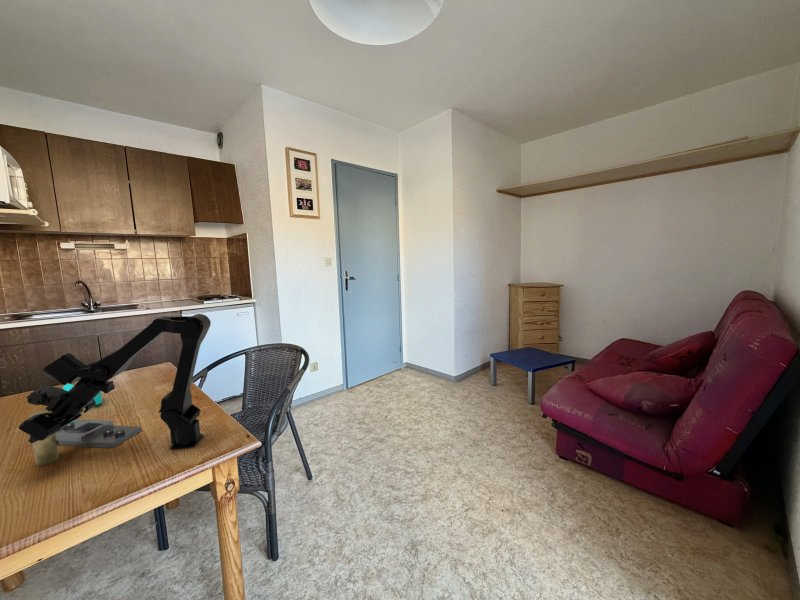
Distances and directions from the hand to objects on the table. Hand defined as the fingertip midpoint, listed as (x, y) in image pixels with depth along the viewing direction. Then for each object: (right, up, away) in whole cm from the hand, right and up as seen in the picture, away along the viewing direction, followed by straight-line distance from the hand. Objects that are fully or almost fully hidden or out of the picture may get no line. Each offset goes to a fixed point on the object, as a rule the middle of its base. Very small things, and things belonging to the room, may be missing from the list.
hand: (37, 437), depth 86 cm
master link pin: (+1, -7, +1) cm, 7 cm away
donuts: (-21, -4, +34) cm, 41 cm away
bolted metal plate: (+3, -6, +13) cm, 14 cm away
